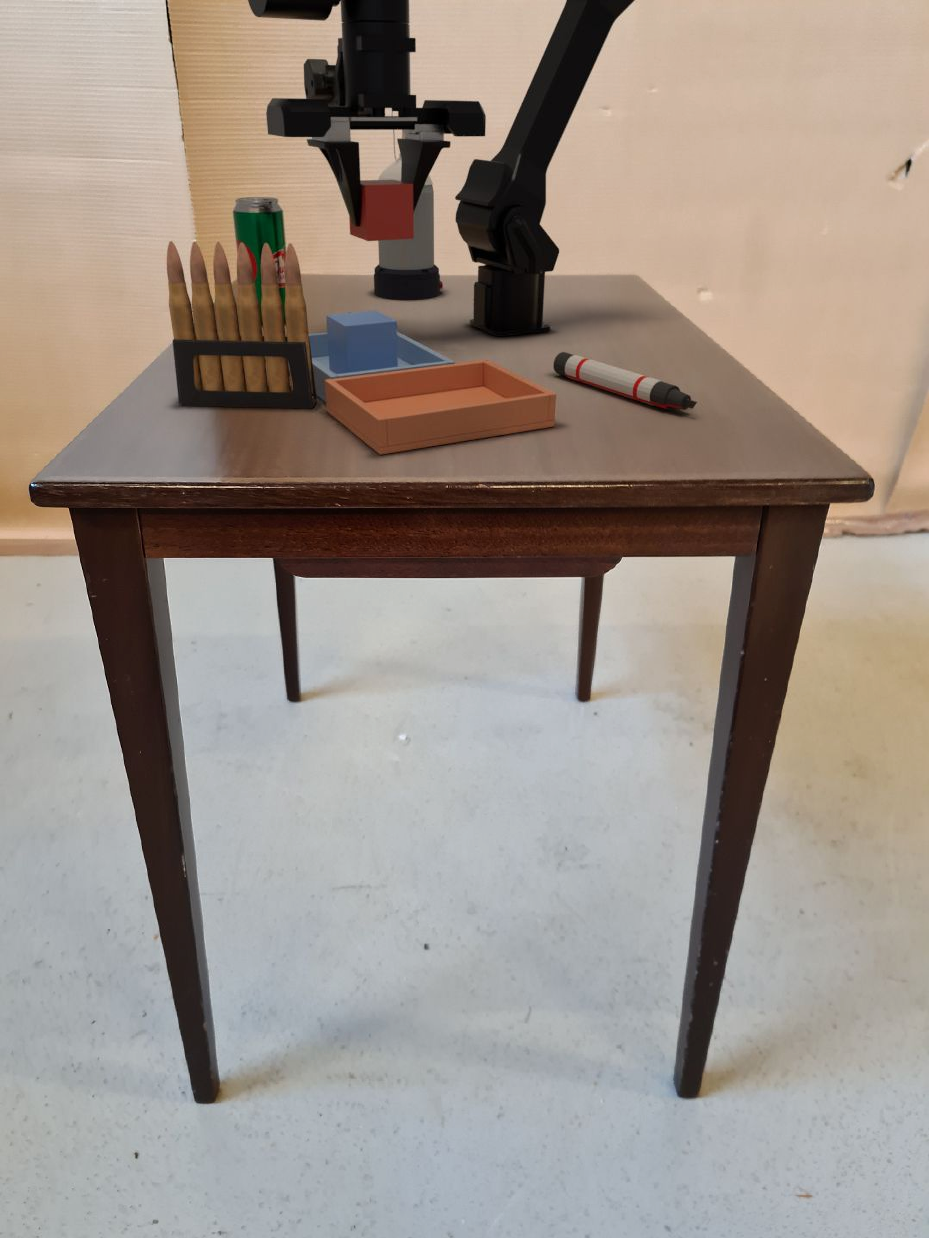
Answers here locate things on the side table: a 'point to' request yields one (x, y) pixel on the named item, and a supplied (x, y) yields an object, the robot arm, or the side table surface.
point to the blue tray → (408, 358)
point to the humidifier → (409, 250)
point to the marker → (622, 382)
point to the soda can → (262, 237)
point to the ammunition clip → (217, 357)
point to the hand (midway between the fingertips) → (381, 225)
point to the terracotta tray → (438, 405)
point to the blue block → (361, 341)
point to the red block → (385, 211)
